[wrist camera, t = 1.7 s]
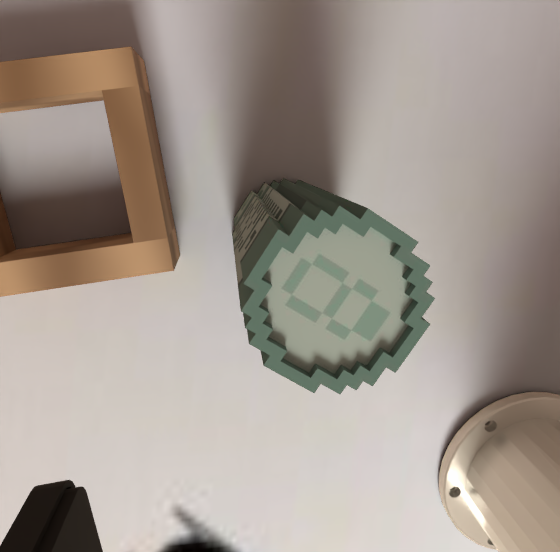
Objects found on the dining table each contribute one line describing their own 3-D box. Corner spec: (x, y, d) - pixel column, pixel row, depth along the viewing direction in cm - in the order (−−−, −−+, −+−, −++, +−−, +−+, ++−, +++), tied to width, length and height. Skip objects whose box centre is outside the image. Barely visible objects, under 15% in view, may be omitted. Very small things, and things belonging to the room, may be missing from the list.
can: (298, 296, 32) (362, 419, 17) (216, 247, 30) (210, 336, 16) (352, 215, 31) (466, 274, 16) (269, 160, 30) (314, 172, 15)
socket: (144, 60, 28) (131, 46, 24) (180, 255, 30) (173, 270, 27) (-64, 85, 27) (-113, 75, 23) (-7, 282, 30) (-42, 302, 26)
